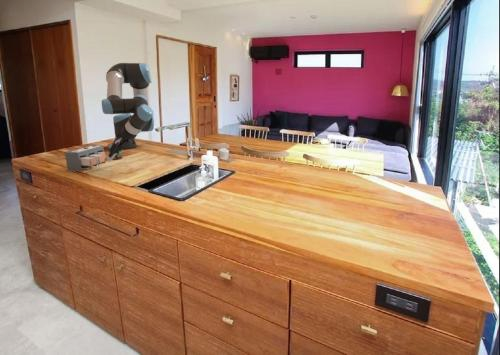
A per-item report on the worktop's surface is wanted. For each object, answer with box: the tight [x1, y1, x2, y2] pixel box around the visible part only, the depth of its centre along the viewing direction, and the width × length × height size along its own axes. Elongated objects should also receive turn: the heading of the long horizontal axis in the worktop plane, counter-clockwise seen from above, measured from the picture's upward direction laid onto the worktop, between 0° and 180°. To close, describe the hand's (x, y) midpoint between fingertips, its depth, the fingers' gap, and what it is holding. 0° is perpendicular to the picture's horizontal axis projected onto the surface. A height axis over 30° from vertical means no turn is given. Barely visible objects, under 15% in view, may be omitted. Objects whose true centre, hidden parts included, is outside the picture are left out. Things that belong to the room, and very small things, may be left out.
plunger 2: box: [97, 151, 107, 160], centre depth 187 cm, size 8×4×4 cm, turn 74°
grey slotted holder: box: [64, 144, 106, 172], centre depth 182 cm, size 8×19×10 cm, turn 164°
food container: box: [107, 142, 123, 161], centre depth 200 cm, size 12×6×10 cm, turn 179°
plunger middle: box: [89, 154, 104, 164], centre depth 180 cm, size 8×4×4 cm, turn 74°
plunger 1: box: [80, 157, 96, 167], centre depth 174 cm, size 8×4×4 cm, turn 74°
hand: (108, 159), depth 178 cm, fingers closed
